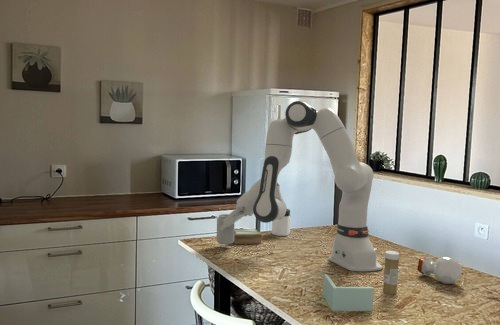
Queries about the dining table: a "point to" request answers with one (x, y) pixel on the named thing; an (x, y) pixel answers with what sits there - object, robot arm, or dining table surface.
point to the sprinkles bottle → (391, 272)
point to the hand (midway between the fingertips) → (224, 227)
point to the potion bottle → (441, 269)
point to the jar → (282, 225)
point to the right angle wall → (347, 297)
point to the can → (224, 231)
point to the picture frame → (247, 236)
